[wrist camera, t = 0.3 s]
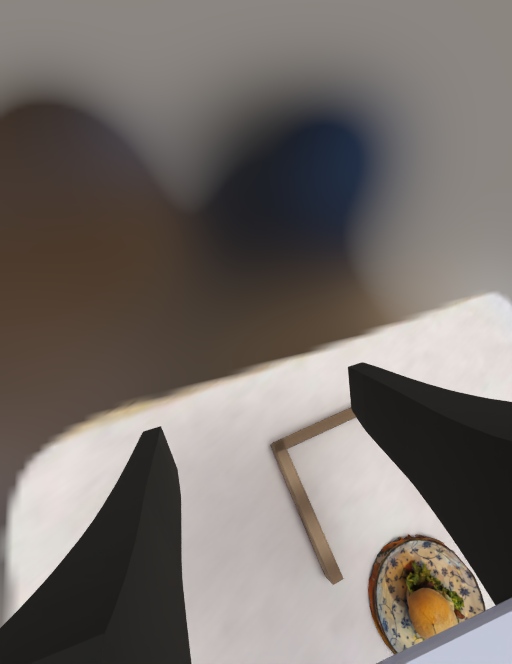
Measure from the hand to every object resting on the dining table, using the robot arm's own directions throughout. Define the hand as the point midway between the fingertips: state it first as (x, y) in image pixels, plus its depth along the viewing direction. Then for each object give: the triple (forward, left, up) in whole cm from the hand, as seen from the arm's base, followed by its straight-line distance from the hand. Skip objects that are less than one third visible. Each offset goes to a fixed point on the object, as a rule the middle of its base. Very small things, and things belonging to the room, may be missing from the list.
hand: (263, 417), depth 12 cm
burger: (-20, -12, -31) cm, 39 cm away
